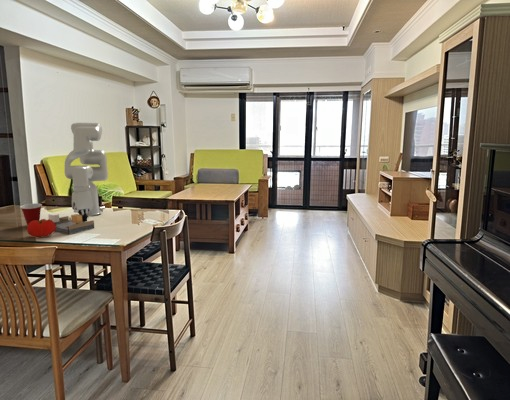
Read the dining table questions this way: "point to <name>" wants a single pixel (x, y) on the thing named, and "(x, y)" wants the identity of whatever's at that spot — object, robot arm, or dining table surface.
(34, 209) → the plastic cup
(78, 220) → the block
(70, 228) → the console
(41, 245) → the dining table surface
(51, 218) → the block
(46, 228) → the tomato
